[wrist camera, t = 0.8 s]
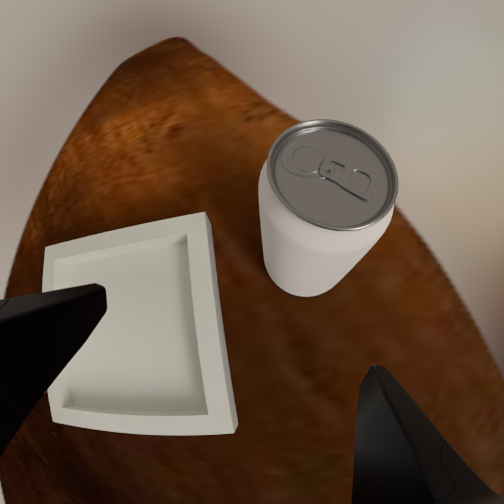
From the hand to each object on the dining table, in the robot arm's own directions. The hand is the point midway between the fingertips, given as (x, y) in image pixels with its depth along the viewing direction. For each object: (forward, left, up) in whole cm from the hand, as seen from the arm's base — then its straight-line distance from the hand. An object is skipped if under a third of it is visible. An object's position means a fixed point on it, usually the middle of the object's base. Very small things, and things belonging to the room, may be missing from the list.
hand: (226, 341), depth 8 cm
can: (+6, -5, -13) cm, 15 cm away
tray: (+2, +10, -13) cm, 16 cm away
